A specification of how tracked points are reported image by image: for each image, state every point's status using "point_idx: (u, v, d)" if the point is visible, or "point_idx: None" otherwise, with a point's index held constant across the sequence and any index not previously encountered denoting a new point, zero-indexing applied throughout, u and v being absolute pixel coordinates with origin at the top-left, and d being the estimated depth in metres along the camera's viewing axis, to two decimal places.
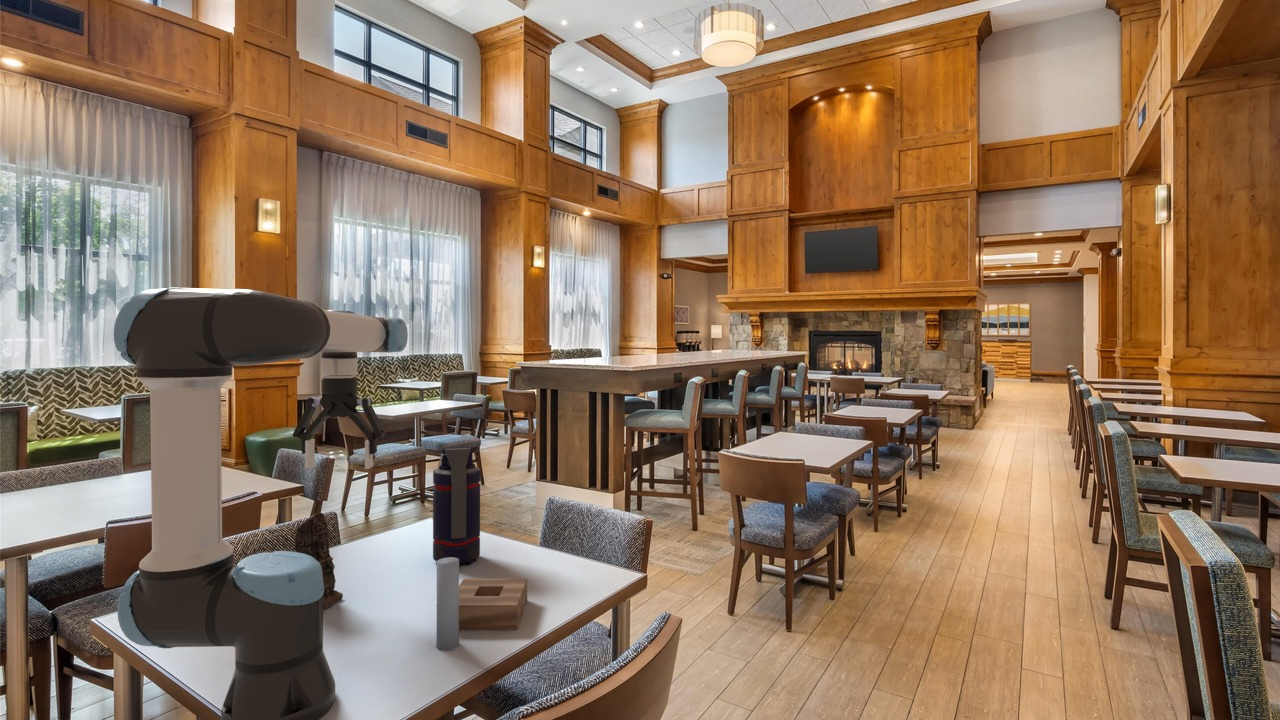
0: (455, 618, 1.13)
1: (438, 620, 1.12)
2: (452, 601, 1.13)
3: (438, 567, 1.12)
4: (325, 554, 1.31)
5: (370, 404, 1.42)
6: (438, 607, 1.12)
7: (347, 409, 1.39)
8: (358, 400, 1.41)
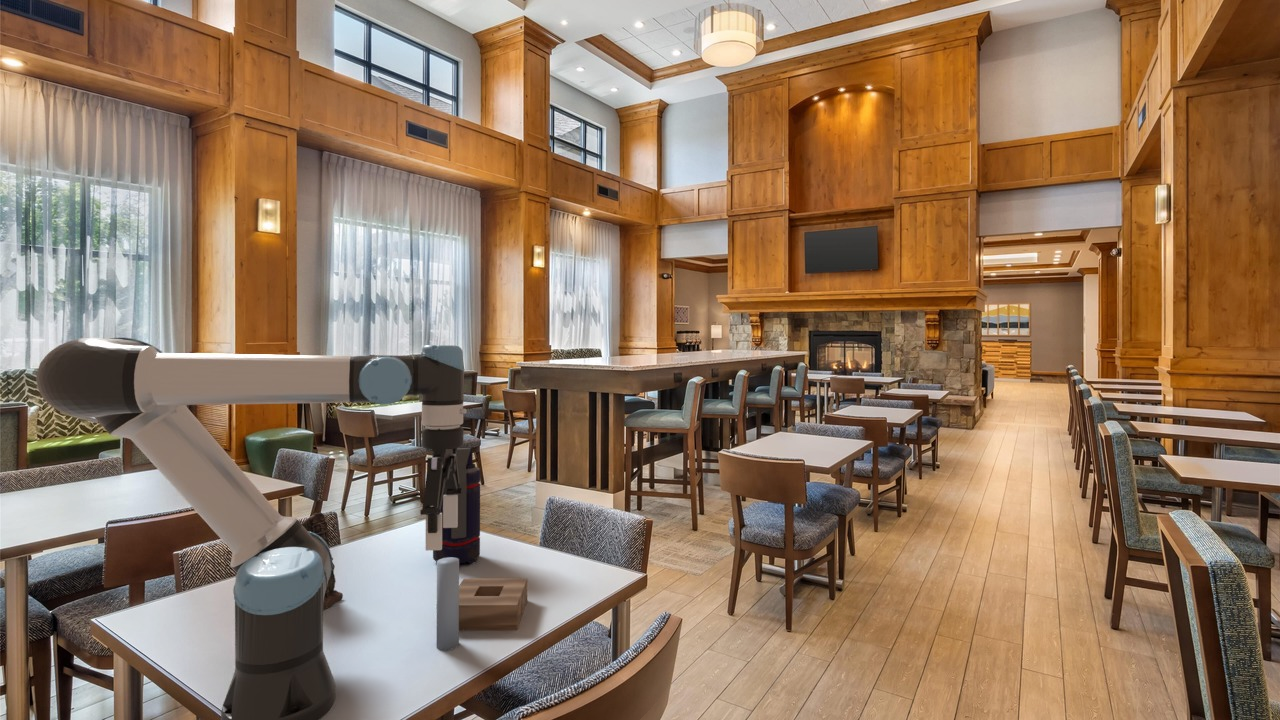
0: (455, 618, 1.13)
1: (438, 620, 1.12)
2: (452, 601, 1.12)
3: (438, 567, 1.12)
4: None
5: (436, 467, 1.08)
6: (438, 607, 1.12)
7: None
8: None
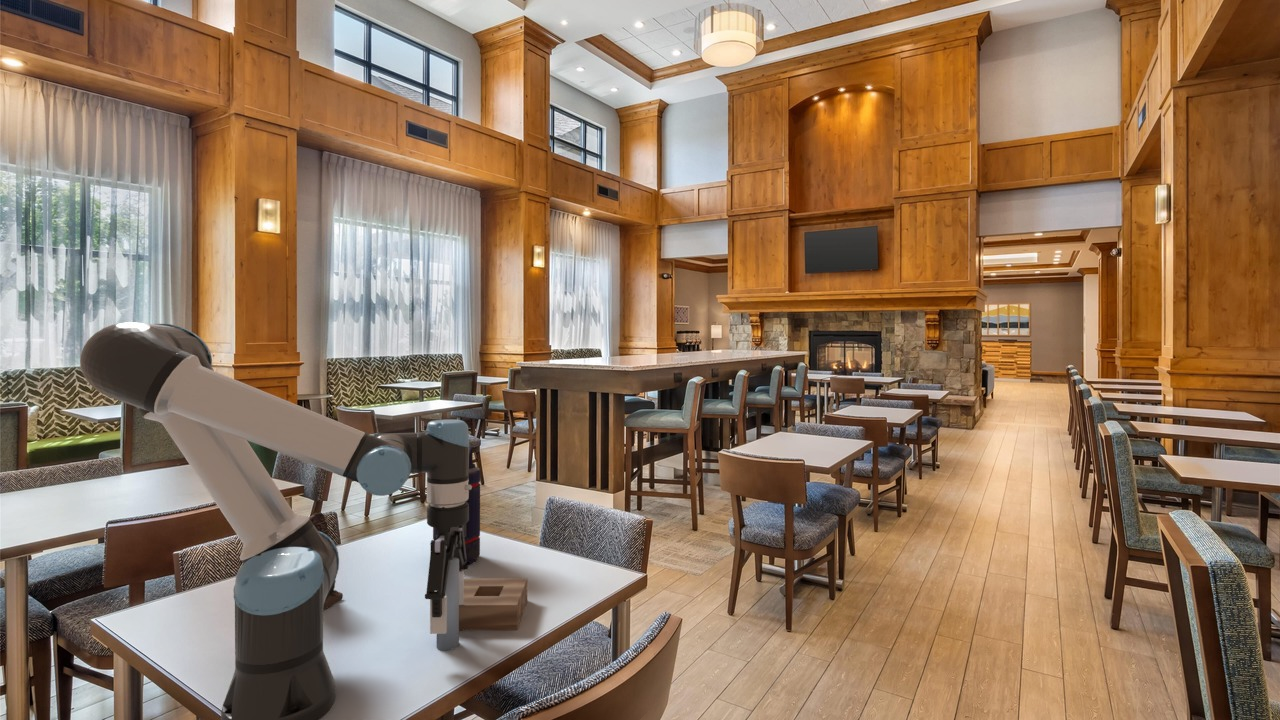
0: (455, 618, 1.13)
1: None
2: (452, 601, 1.13)
3: None
4: None
5: (440, 550, 1.07)
6: None
7: None
8: None
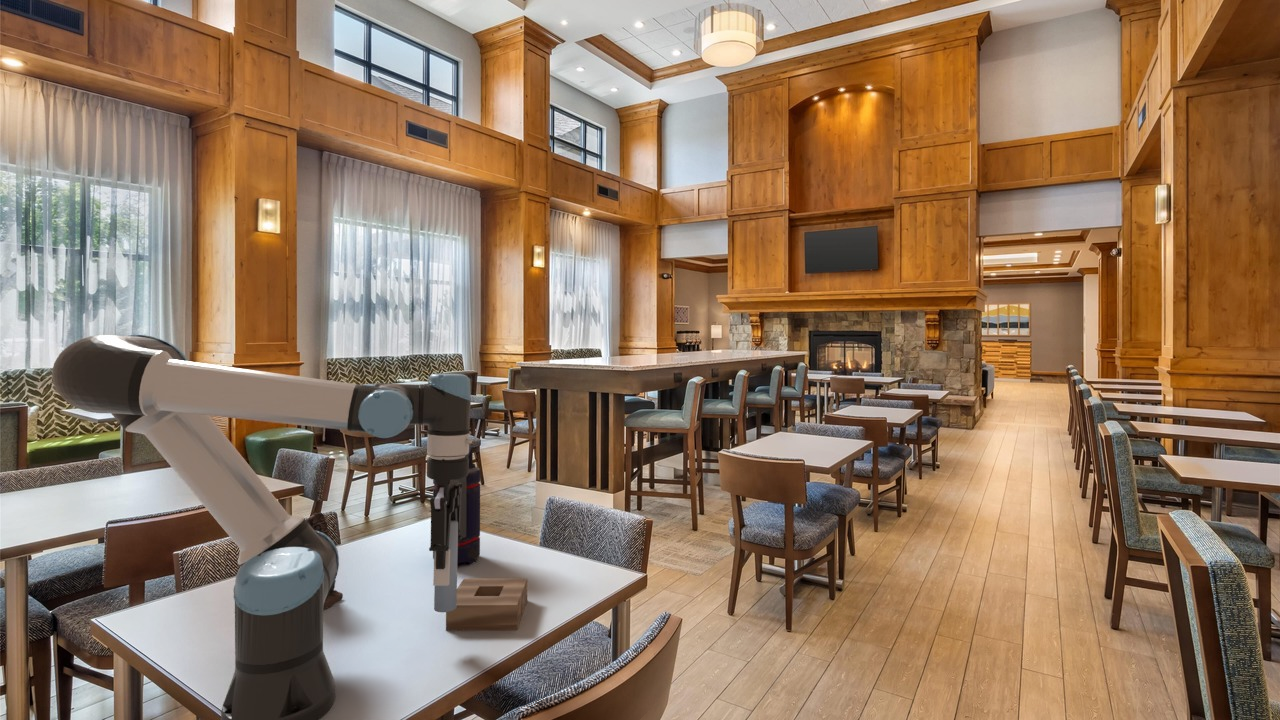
0: (453, 581, 1.13)
1: None
2: (451, 563, 1.12)
3: None
4: None
5: (440, 508, 1.07)
6: None
7: None
8: None
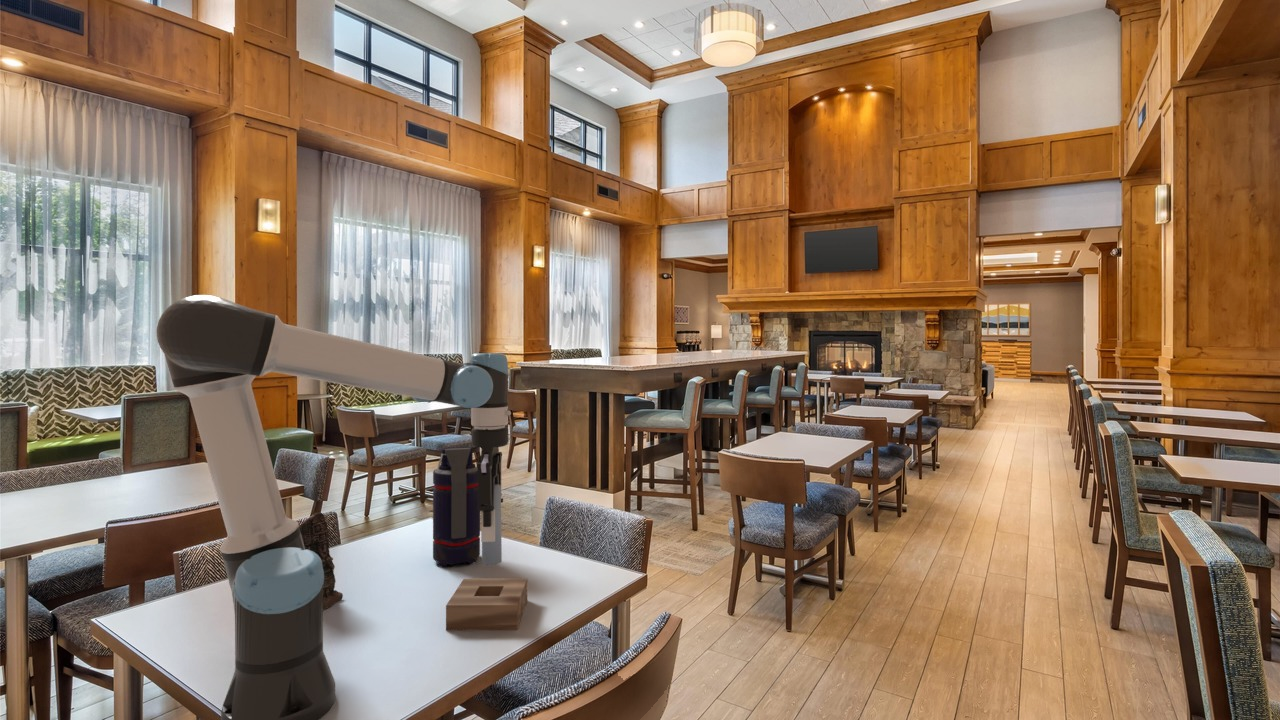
0: (499, 537, 1.26)
1: None
2: (496, 521, 1.26)
3: None
4: (325, 554, 1.31)
5: (486, 471, 1.21)
6: None
7: None
8: None
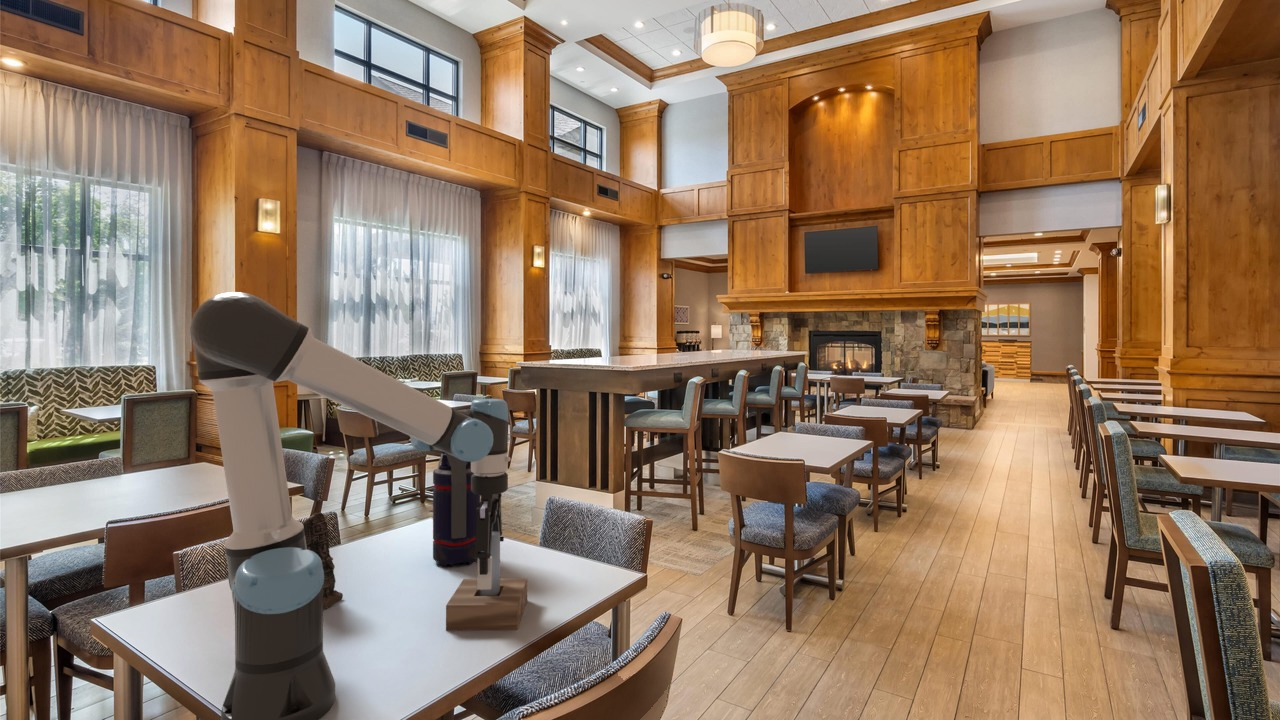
0: (497, 585, 1.26)
1: None
2: (494, 569, 1.26)
3: None
4: (325, 554, 1.31)
5: (484, 517, 1.20)
6: None
7: None
8: None
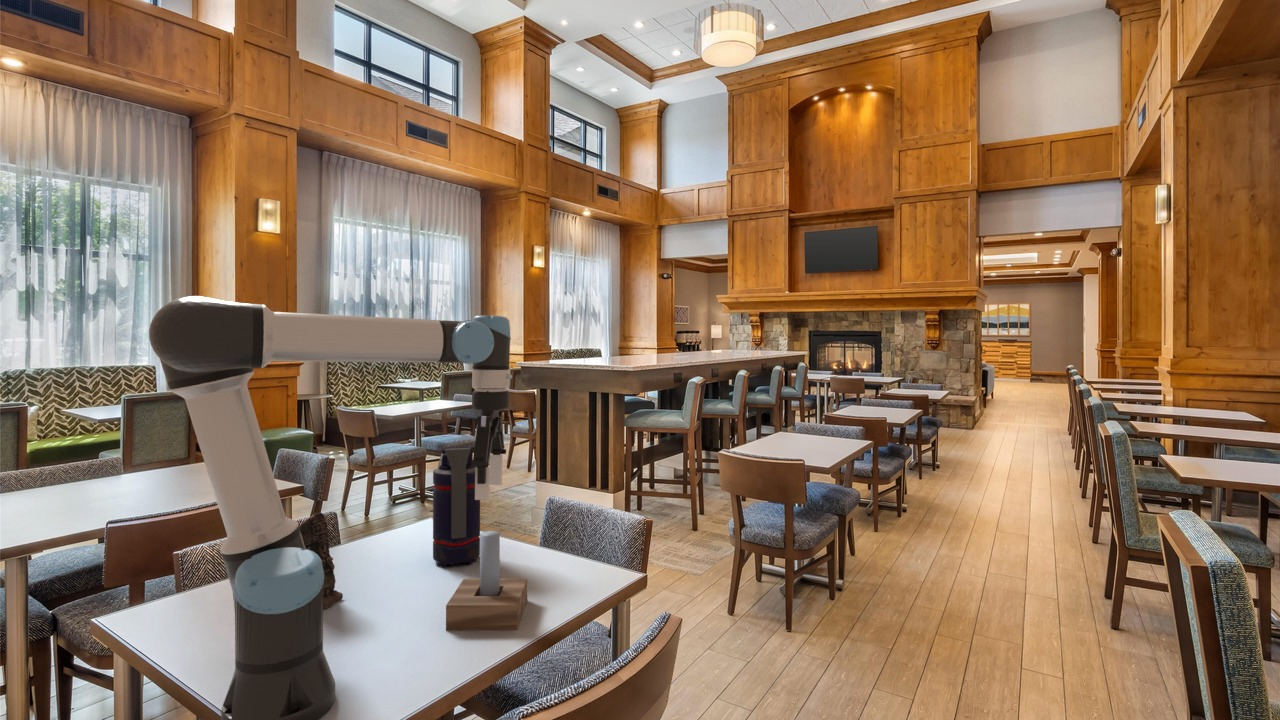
0: (497, 585, 1.26)
1: (482, 586, 1.26)
2: (494, 569, 1.26)
3: (481, 539, 1.25)
4: (325, 554, 1.31)
5: (485, 424, 1.19)
6: (482, 575, 1.26)
7: None
8: None
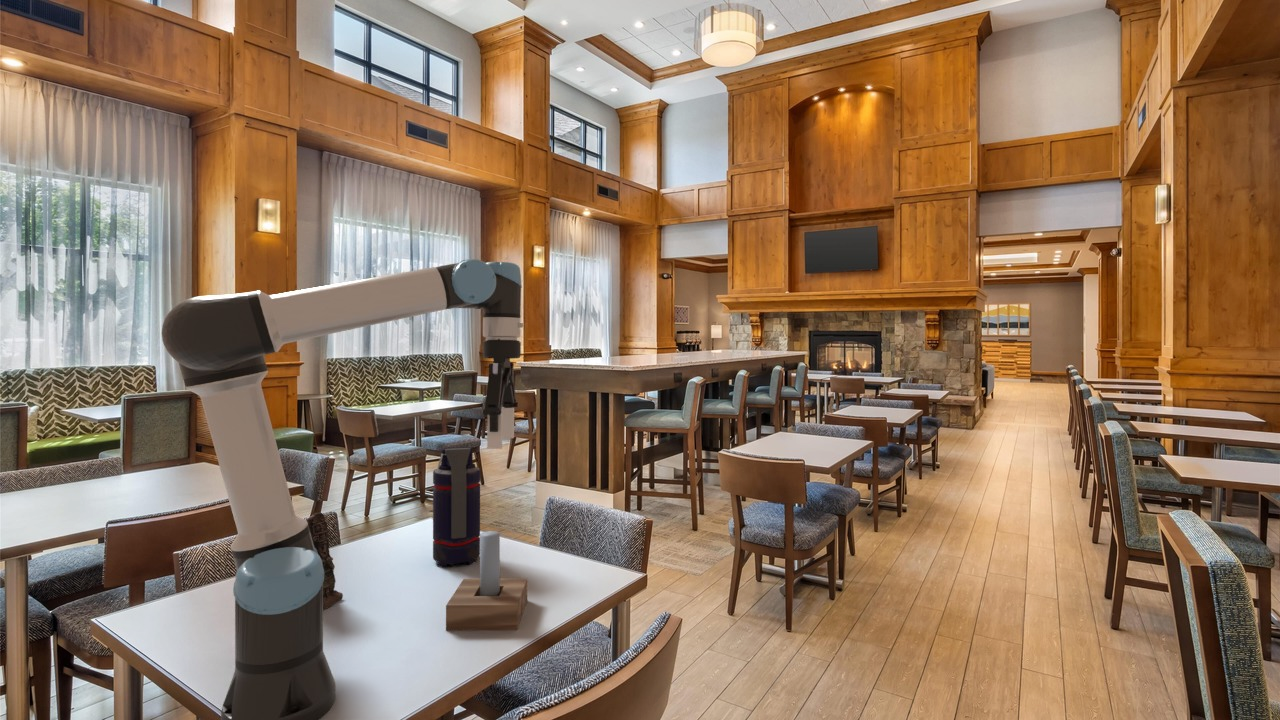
0: (497, 585, 1.26)
1: (482, 586, 1.26)
2: (494, 569, 1.26)
3: (481, 539, 1.25)
4: (325, 554, 1.31)
5: (497, 371, 1.17)
6: (482, 575, 1.26)
7: None
8: None
